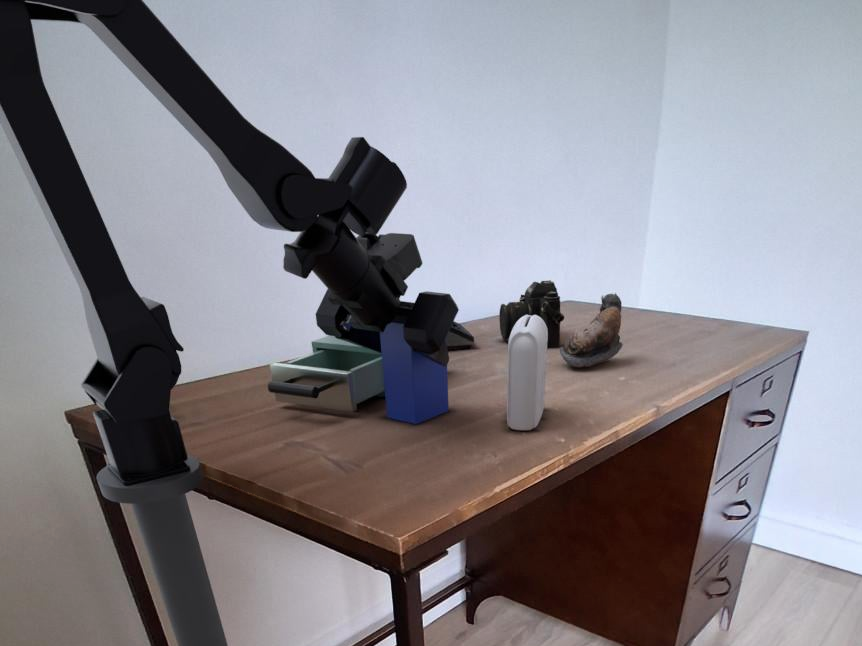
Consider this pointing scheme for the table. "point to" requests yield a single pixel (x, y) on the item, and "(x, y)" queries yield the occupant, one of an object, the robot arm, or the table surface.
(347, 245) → the robot arm
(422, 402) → the carton
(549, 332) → the film camera
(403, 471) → the table surface
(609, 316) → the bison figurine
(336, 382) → the drawer
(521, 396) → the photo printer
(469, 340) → the electronic device
